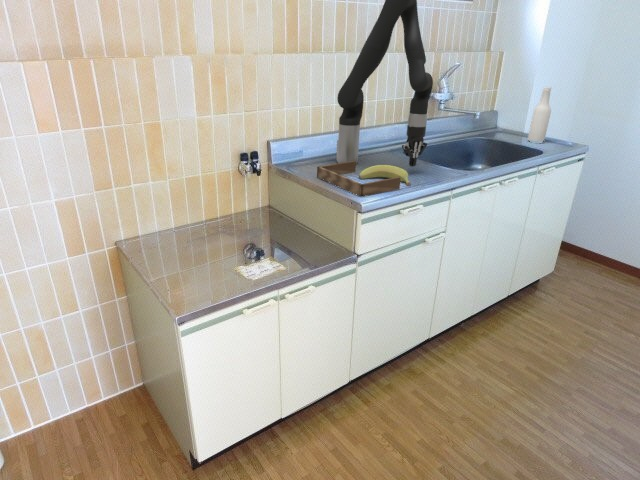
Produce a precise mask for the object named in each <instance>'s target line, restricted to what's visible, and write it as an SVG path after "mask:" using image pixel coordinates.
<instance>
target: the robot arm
mask: <svg viewBox="0 0 640 480" xmlns="http://www.w3.org/2000/svg"><path fill="white" fill-rule="evenodd" d="M383 3H384V4H383V5H382V7H381V10H380V12H379V15H378V18H377V19H376V21H375V22H374V25H373V27H372V28H371V31H370V33H369V35H368V36H367V39H366V40H365V42H364V44H363V46H362V48H361V50H360V51H359V55H358V56H357V58H356V61H355V63H354V65H353V67H352V69H351V71H350V73H349V75H348V76H347V78H346V80H345V81H344V83H343V84H342V86H341V87H340V89H339V91H338V93H337V104H338V105H339V107H341V109H342V112H341V115H340V116H339V117H338V139H337V141H336V158H335V159H336V160H335V161H336V162H337V164H338V163H344V162H351V161H356V164H358V161H359V149H360V148H359V146H360V133H361V132H360V131H361V130H360V129H361V120H362V117H363V111H364V102H365V101H364V100H365V98H364V97H365V96H364V92H363V90H362V88H363V86H364V85H365V83H366V81H367V80H368V79H369V78H370V76H371V75H372V74H373V73H374V72H375V71H376V70H377V68H378V67H379V66H380V64H381V63H382V61H383V60H384V57H385V56H386V53H387V52H388V49H389V46H390V44H391V40H392V36H393V35H392V34H393V31H394V28H395V26H396V23H397V22H398V20H399V18H400V19H401V23H402V27H403V45H404V53H405V58H406V61H407V64H408V80H409V85H410V87H411V89H412V90H413V91H414V94H413V97H412V98H411V100H410V105H409V113H408V118H407V126H406V136H407V138H406V143H405V144H401V148H402V150H403V152H404V154H405V156H406V157H409V160H408V161H409V162H408V165H409V167H416V166H417V159H418V157H419V156H421V155H422V154H423V153H424V151H425V149H426V147H427V146H428V143H427V142H425V139H424V138H425V136H426V131H427V121H428V108H429V101H430V97H431V94H432V91H433V90H432V89H433V86H434V85H433V84H434V80H433V76H432V74H430V73H429V72H426V67H425V64H426V62H427V57H426V53H425V47H424V44H423V38H422V35H421V34H422V33H421V29H420V22H419V15H418V11H419V10H418V1H417V0H384V2H383Z"/></svg>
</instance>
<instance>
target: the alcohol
mask: <svg viewBox="0 0 640 480" xmlns="http://www.w3.org/2000/svg"><path fill="white" fill-rule="evenodd" d="M551 91H552V86H551V87H550V86H543V89H542V93H541V97H540V100H539V103H538V104H537V105H536V106H535V107H534V110H533V112H532V117H531V121H530V127H529V131H528V136H527V141H528V140H532V141H543V140H544V139H545V140H546V135H547V131H548V126H549V123H550V119H551V114H552V109H551V106H550V97H551ZM545 140H544V141H545Z"/></svg>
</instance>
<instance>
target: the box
mask: <svg viewBox="0 0 640 480" xmlns="http://www.w3.org/2000/svg"><path fill="white" fill-rule="evenodd" d="M356 167H357V165H356V161H351V162H344V163H338V162H337V163H333V164H327V165H326V164H325V165H318V166H317V167H316V178H317V177H319V178H321V179H324V180H326V181H328V182H330V183H332V184H331V185H333V184H334V185H333V186H335V185H336V186H335V187H337V186H339V187H341V188H340V189H342V188H343V189H342V190H344V189H345V190H344V191H346V190H347V192H348V191H350V192H352V193H351V194H353V193H354V194H353V195H355V194H357V195H359V196H363V197H366V196H365V195H368V196H373V195H375V194H376V195H377V194H382V193H387V192H393V191H397V190H400V188H401V181H400V180H401V177H395V178H386V179H381V180H375V181H370V182H364V183H361V182H358V181H356V180H354V179H352V178H349V177H346V176H344V175H345V174H352V173H356ZM319 178H318V179H319ZM321 179H320V180H321ZM324 180H323V181H324ZM326 181H325V182H326ZM328 182H327V183H328ZM330 183H329V184H330ZM339 187H338V188H339ZM350 192H349V193H350ZM372 194H373V195H372ZM357 195H356V196H357ZM359 196H358V197H359Z"/></svg>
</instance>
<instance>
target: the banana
mask: <svg viewBox="0 0 640 480" xmlns="http://www.w3.org/2000/svg"><path fill="white" fill-rule="evenodd" d="M395 177H401V180H400V182H402V183H406V186H411V185H412V183H411V182H410V181H409V173H408V172H407V170H406V169H404V168H401V167H399V166H395V165H389V164H377V165H372V166H368V167H367V168H364V169H363V170H361V171H360V173H359V174H358V178H359V179H360V180H366V179H371V178H386V179H390V178H395Z"/></svg>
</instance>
